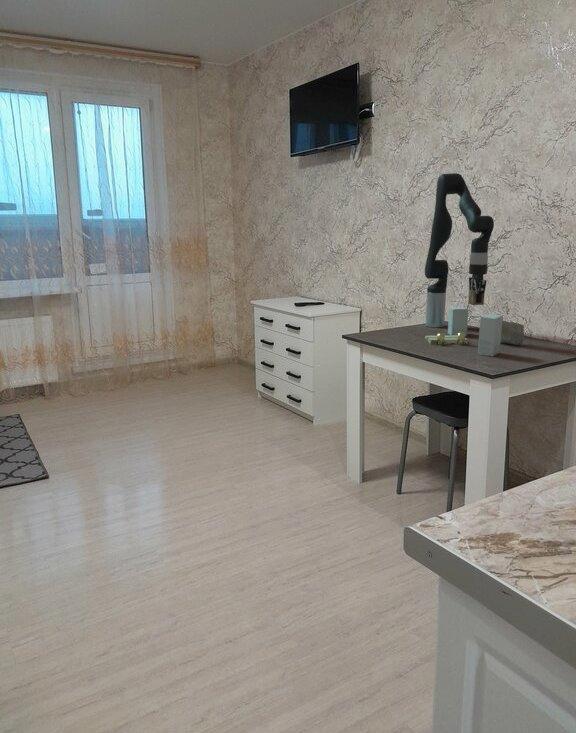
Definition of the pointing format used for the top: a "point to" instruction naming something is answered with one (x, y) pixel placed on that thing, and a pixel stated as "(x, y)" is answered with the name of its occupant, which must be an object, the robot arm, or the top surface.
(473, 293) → the walnut block
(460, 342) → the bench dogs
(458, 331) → the supplement box
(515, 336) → the stone
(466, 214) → the robot arm
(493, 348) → the skincare box
